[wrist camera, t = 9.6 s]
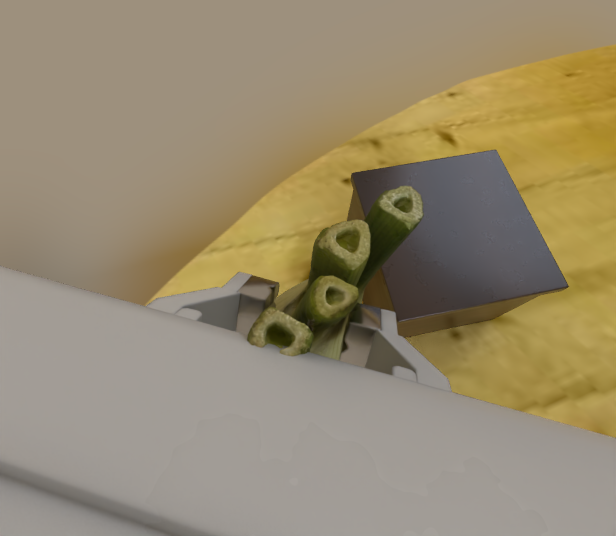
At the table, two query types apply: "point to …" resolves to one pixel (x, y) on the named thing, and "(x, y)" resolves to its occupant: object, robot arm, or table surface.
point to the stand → (457, 245)
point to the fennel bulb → (338, 277)
